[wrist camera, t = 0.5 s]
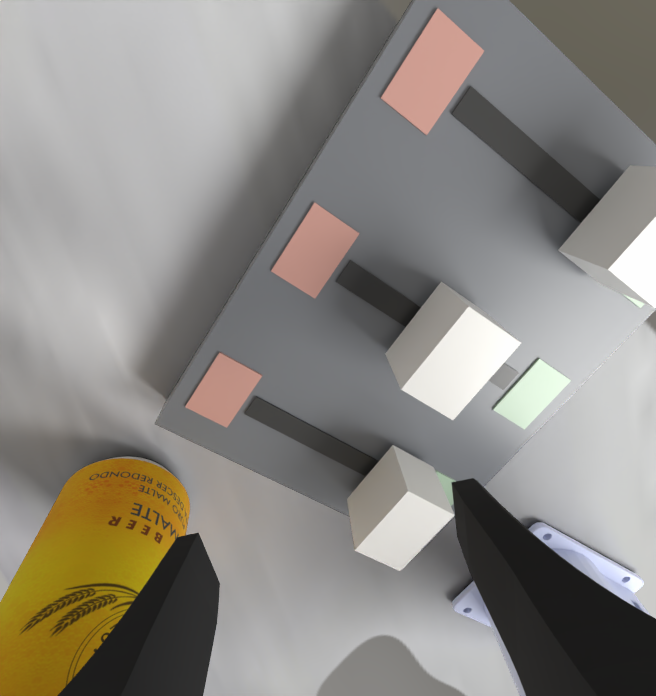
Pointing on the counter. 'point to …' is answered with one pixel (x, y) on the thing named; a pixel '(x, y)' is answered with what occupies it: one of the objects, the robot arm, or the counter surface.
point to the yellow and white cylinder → (86, 570)
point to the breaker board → (421, 262)
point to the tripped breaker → (449, 352)
